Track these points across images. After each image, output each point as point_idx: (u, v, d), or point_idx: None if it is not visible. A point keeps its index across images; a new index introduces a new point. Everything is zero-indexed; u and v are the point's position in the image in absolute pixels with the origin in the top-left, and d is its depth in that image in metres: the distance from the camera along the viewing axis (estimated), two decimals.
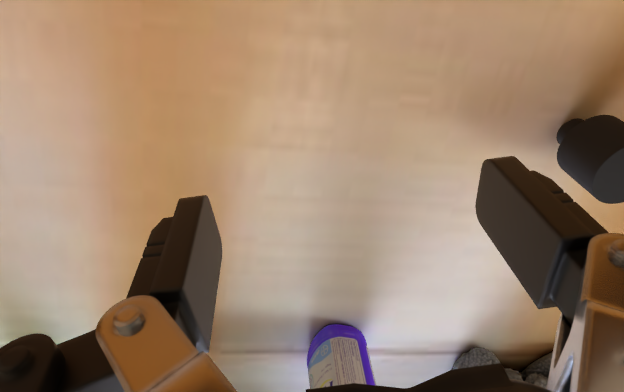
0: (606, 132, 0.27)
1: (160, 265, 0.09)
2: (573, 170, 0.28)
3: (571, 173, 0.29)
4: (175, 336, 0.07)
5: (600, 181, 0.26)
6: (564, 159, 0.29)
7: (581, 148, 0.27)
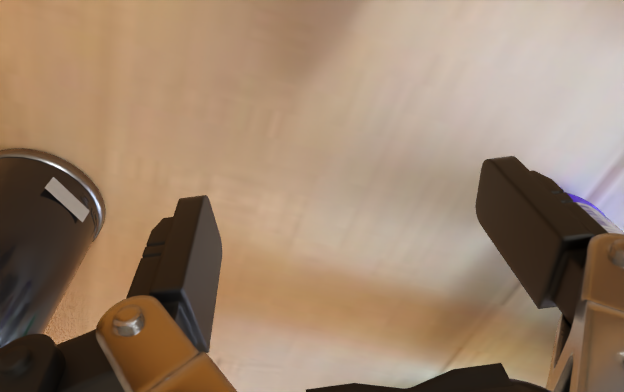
0: None
1: (160, 265, 0.09)
2: None
3: None
4: (175, 336, 0.07)
5: None
6: None
7: None
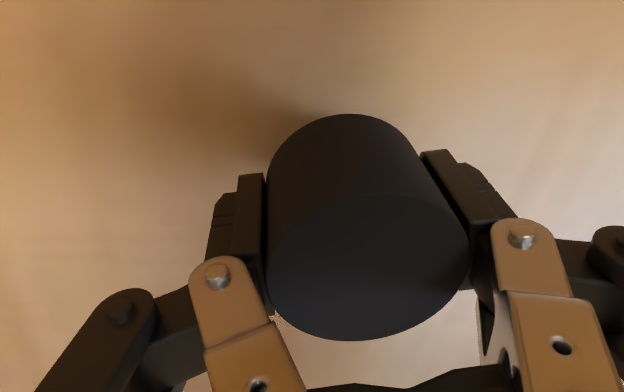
0: None
1: (234, 232, 0.10)
2: None
3: None
4: (253, 300, 0.08)
5: (381, 326, 0.10)
6: None
7: None
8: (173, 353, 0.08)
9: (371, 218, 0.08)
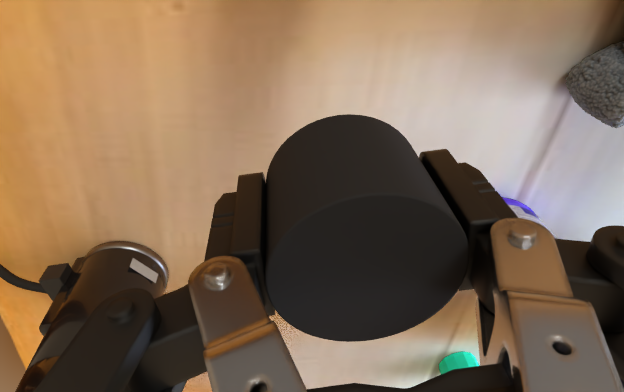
0: None
1: (234, 231, 0.10)
2: None
3: None
4: (253, 300, 0.08)
5: (380, 326, 0.10)
6: None
7: None
8: (173, 353, 0.08)
9: (371, 219, 0.08)
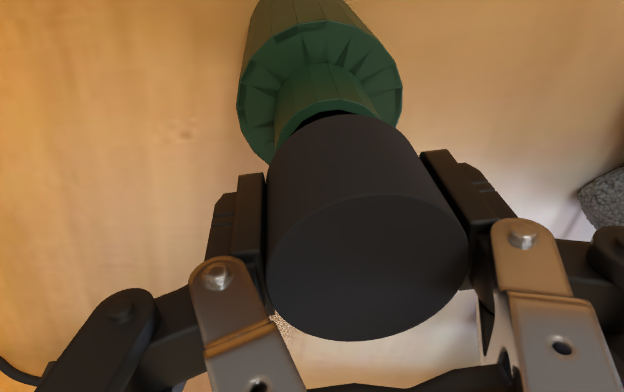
0: None
1: (234, 231, 0.10)
2: None
3: None
4: (253, 300, 0.08)
5: (381, 327, 0.10)
6: None
7: None
8: (173, 353, 0.08)
9: (371, 218, 0.08)
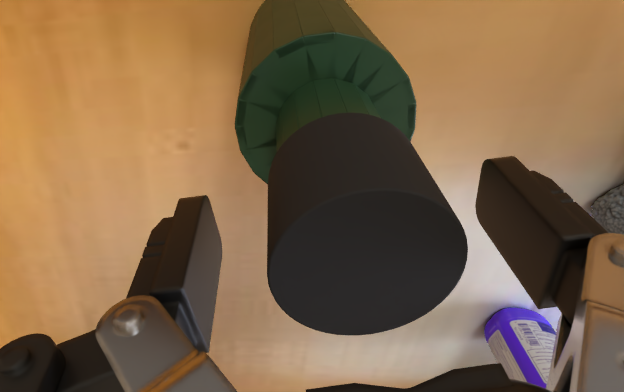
0: None
1: (160, 265, 0.09)
2: None
3: None
4: (175, 336, 0.07)
5: (380, 320, 0.11)
6: None
7: None
8: None
9: (371, 213, 0.09)
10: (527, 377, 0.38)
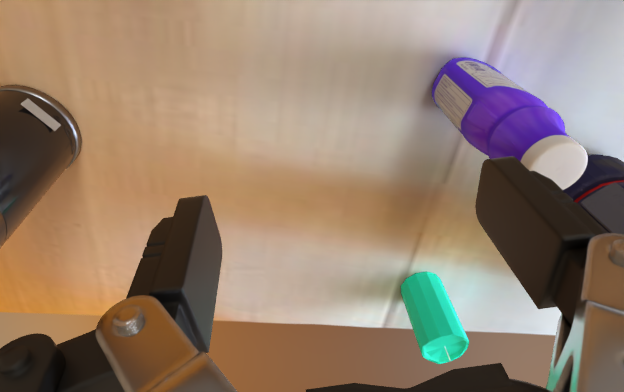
0: None
1: (160, 265, 0.09)
2: None
3: None
4: (175, 336, 0.07)
5: None
6: None
7: None
8: None
9: None
10: (469, 91, 0.34)
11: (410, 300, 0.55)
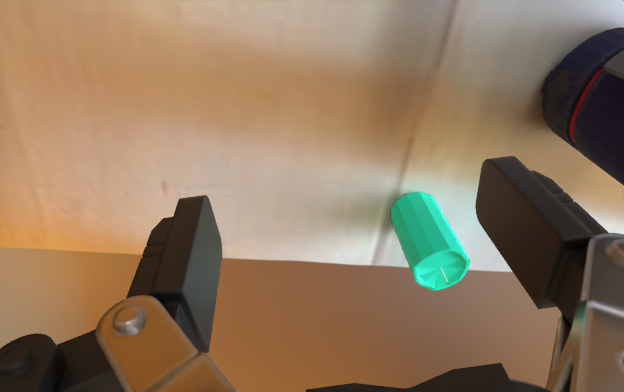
0: None
1: (160, 265, 0.09)
2: None
3: None
4: (175, 336, 0.07)
5: None
6: None
7: None
8: None
9: None
10: None
11: (400, 221, 0.48)
